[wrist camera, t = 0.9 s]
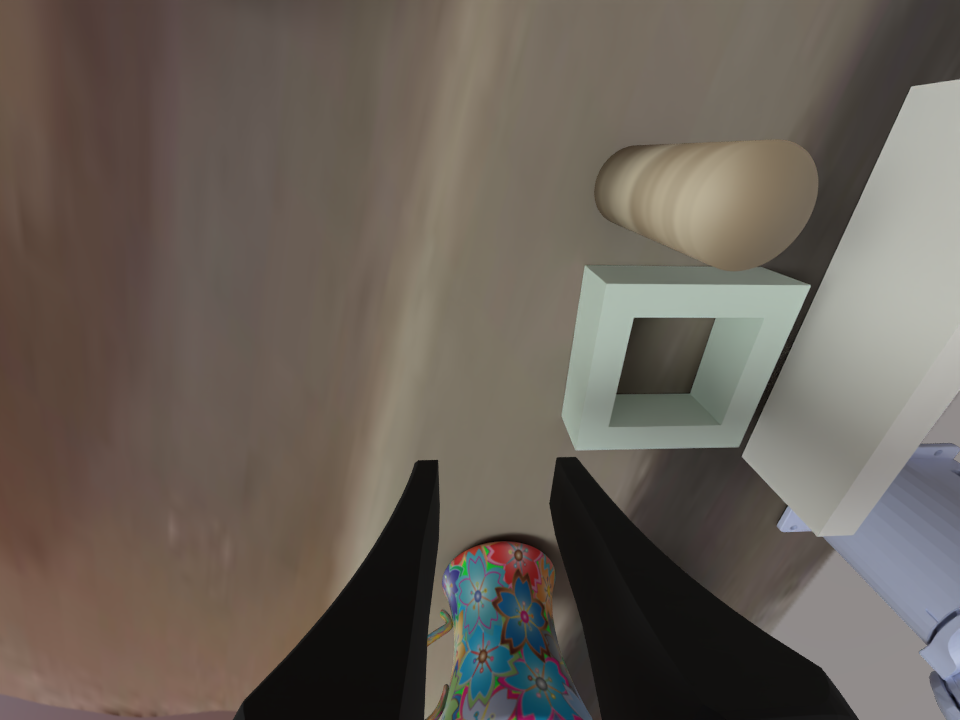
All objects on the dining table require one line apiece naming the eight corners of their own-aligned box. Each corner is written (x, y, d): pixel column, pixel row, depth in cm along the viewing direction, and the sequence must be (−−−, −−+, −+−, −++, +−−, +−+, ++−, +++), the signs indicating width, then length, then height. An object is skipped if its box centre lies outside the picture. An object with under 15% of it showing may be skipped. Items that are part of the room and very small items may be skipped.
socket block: (762, 267, 19) (810, 285, 16) (706, 413, 23) (738, 447, 21) (584, 265, 19) (606, 283, 16) (561, 415, 23) (575, 450, 20)
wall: (956, 88, 16) (1204, 56, 11) (770, 455, 25) (853, 535, 20) (911, 86, 16) (1141, 52, 10) (741, 456, 25) (817, 536, 20)
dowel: (674, 146, 16) (840, 141, 9) (656, 225, 18) (787, 272, 11) (601, 144, 16) (714, 137, 9) (589, 223, 18) (678, 270, 11)
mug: (564, 525, 28) (620, 716, 18) (551, 600, 32) (590, 785, 23) (395, 532, 27) (364, 734, 18) (406, 608, 31) (385, 801, 22)
